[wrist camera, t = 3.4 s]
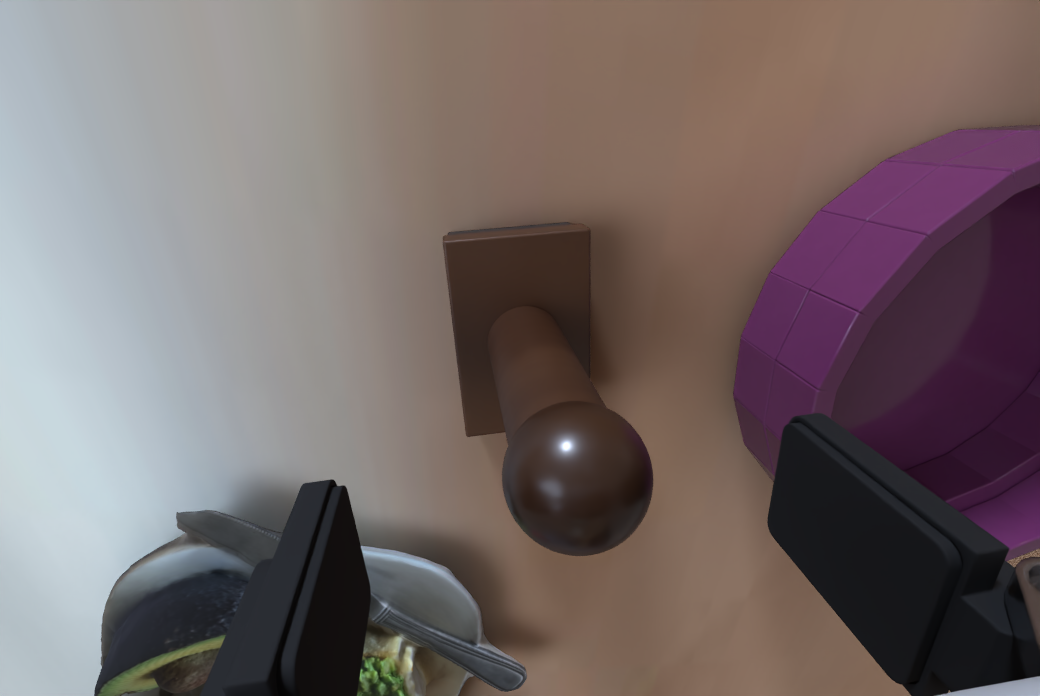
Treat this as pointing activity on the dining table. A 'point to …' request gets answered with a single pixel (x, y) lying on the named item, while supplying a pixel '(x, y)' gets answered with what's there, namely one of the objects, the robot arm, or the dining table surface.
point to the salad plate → (218, 591)
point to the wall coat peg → (543, 385)
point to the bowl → (917, 326)
